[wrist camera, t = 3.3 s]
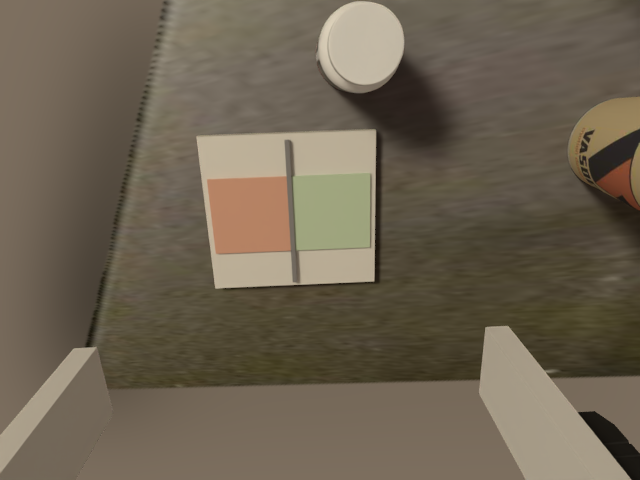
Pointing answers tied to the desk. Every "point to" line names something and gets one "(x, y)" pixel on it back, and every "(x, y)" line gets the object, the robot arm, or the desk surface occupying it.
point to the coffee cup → (609, 149)
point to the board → (290, 206)
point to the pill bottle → (360, 47)
